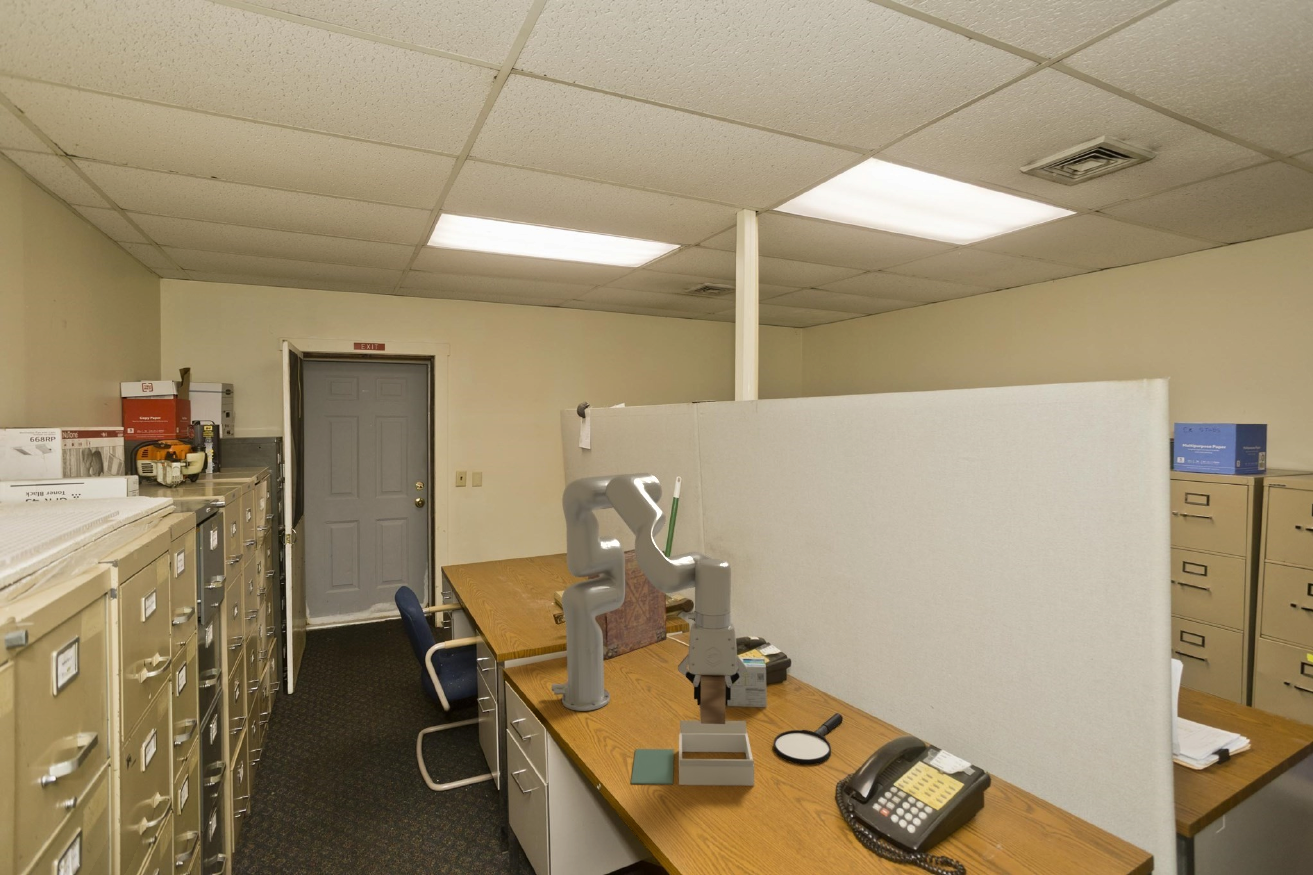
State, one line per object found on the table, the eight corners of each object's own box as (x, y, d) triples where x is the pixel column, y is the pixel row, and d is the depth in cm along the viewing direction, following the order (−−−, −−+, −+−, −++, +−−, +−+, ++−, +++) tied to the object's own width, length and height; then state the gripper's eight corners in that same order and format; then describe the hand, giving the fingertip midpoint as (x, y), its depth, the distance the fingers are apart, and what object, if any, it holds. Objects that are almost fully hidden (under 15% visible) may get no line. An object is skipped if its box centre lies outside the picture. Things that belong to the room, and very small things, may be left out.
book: (648, 632, 219) (647, 546, 217) (666, 639, 212) (665, 550, 211) (589, 652, 201) (587, 558, 200) (607, 660, 195) (605, 563, 193)
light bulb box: (765, 696, 168) (765, 656, 168) (767, 708, 161) (767, 666, 161) (725, 695, 169) (724, 655, 169) (725, 706, 162) (724, 665, 162)
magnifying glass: (863, 729, 150) (863, 721, 150) (813, 775, 132) (813, 765, 132) (815, 713, 159) (815, 705, 158) (763, 754, 141) (762, 744, 141)
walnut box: (700, 723, 130) (700, 680, 130) (699, 702, 139) (699, 662, 139) (725, 724, 130) (725, 680, 130) (722, 703, 139) (723, 662, 139)
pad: (631, 783, 129) (631, 782, 129) (635, 750, 142) (635, 748, 142) (672, 784, 128) (672, 782, 128) (673, 750, 141) (673, 749, 141)
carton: (679, 789, 127) (678, 759, 127) (679, 746, 143) (679, 720, 143) (755, 789, 126) (754, 759, 126) (746, 747, 142) (746, 720, 142)
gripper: (672, 624, 130) (671, 710, 131) (755, 625, 129) (754, 712, 130) (672, 612, 138) (672, 693, 139) (751, 613, 137) (750, 695, 138)
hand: (712, 701), depth 135 cm, fingers closed on walnut box, 5 cm apart
